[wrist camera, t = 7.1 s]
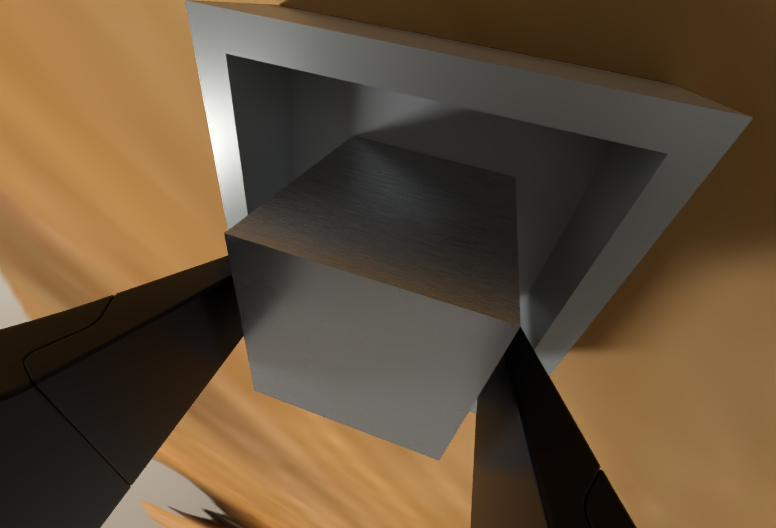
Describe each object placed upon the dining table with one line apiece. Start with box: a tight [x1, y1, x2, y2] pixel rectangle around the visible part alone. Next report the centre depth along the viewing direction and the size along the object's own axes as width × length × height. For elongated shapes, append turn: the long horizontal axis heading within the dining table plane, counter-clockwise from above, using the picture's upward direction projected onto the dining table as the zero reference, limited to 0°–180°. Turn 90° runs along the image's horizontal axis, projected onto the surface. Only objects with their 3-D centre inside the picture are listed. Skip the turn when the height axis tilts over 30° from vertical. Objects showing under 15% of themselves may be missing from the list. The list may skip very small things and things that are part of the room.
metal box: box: [224, 136, 521, 460], centre depth 9 cm, size 5×5×6 cm
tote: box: [185, 0, 753, 413], centre depth 11 cm, size 11×11×4 cm
